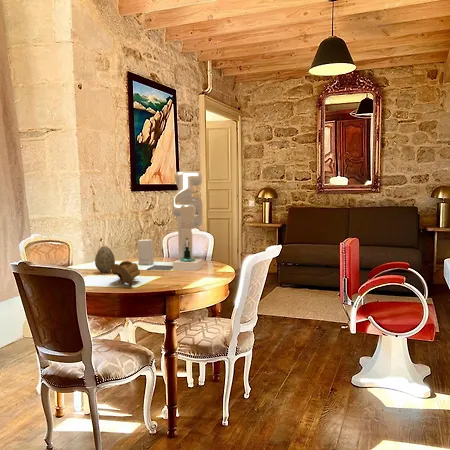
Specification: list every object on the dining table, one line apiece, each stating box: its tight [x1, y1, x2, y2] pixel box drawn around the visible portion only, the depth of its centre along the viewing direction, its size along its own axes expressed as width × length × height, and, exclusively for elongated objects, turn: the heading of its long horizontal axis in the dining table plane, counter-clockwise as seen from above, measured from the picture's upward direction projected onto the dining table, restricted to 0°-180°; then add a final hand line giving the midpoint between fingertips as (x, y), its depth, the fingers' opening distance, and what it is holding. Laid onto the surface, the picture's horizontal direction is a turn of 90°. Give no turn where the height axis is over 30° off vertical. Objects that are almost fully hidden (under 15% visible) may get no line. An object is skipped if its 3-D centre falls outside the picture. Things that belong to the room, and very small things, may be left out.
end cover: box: [180, 248, 196, 262], centre depth 253 cm, size 9×9×12 cm
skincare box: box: [137, 238, 154, 266], centre depth 271 cm, size 8×7×16 cm
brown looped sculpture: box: [111, 260, 141, 287], centre depth 213 cm, size 18×13×22 cm
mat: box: [146, 264, 173, 271], centre depth 256 cm, size 14×14×1 cm
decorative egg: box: [94, 245, 116, 274], centre depth 242 cm, size 11×11×15 cm
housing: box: [172, 258, 203, 272], centre depth 253 cm, size 14×14×5 cm
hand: (187, 256), depth 253 cm, fingers closed on end cover, 4 cm apart
